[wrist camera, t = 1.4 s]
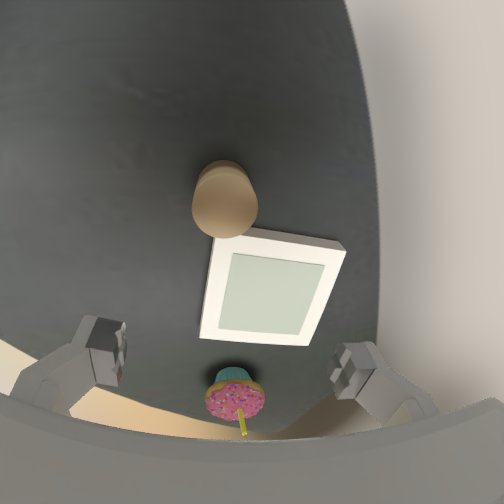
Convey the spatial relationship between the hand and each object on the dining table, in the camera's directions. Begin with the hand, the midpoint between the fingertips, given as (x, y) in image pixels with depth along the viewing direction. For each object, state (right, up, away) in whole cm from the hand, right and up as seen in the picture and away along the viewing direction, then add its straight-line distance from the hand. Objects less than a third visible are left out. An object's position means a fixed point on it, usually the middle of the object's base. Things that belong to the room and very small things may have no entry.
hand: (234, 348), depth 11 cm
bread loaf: (-2, +10, +19) cm, 22 cm away
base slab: (+2, 0, +25) cm, 25 cm away
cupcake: (-2, -15, +33) cm, 36 cm away
